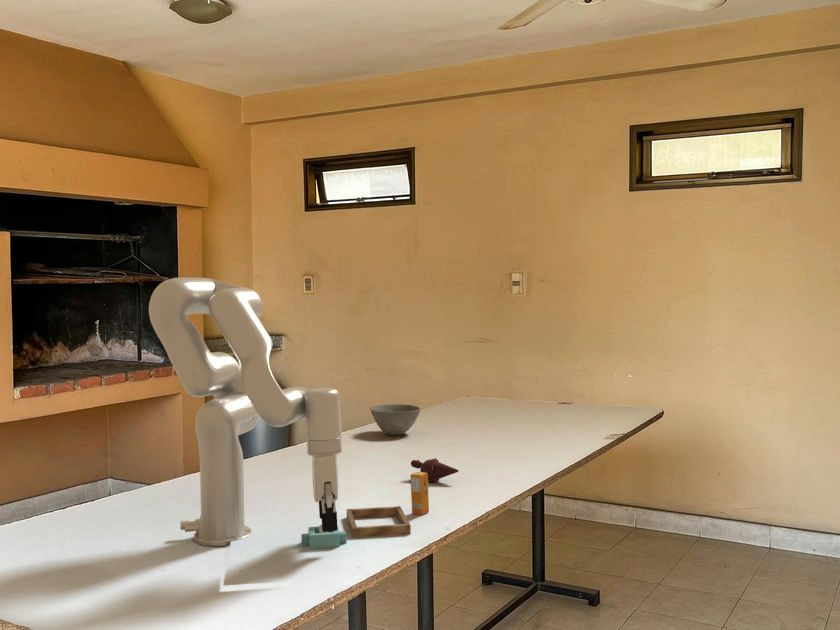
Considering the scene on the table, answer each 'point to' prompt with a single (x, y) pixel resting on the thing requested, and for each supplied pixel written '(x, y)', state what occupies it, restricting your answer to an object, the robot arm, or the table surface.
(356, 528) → the tray
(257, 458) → the table surface
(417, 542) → the table surface
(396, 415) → the bowl
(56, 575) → the table surface
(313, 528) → the teal tabbed square frame
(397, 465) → the table surface
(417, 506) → the supplement box
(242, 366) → the robot arm
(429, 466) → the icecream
